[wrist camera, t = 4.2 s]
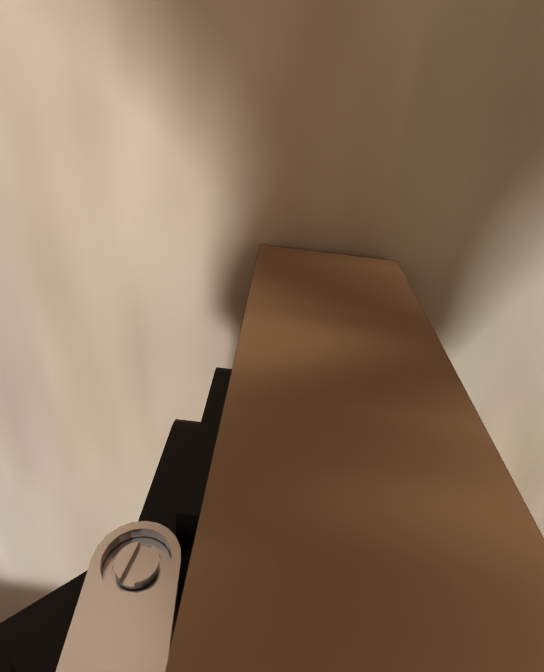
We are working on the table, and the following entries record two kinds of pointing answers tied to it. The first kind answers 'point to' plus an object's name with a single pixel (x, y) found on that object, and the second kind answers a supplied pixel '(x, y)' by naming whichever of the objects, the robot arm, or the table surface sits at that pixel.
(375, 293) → the door panel
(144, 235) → the table surface
